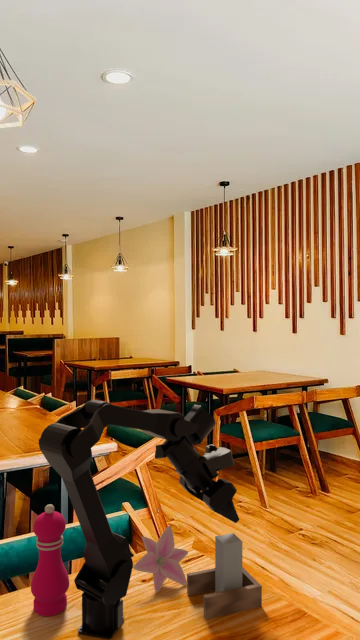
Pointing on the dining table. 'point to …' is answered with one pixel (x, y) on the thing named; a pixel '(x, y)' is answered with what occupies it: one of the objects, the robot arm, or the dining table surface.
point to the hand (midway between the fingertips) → (228, 514)
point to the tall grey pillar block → (228, 562)
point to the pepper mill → (49, 564)
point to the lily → (162, 559)
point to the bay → (224, 593)
